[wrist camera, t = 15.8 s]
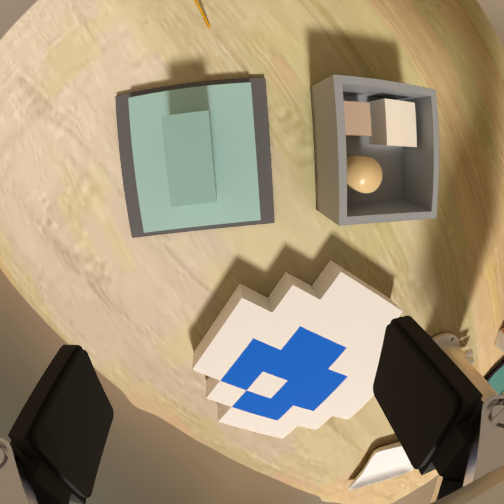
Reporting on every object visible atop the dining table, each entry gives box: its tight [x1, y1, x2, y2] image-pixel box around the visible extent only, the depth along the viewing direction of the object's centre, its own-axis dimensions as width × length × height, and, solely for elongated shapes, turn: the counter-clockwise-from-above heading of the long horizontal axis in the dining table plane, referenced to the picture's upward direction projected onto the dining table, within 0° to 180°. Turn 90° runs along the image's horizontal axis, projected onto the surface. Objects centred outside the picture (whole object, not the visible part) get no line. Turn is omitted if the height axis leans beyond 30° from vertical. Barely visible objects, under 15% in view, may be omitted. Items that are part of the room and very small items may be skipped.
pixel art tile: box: [192, 260, 403, 439], centre depth 40 cm, size 28×4×28 cm
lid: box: [128, 82, 261, 233], centre depth 27 cm, size 13×15×6 cm
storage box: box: [310, 75, 439, 226], centre depth 29 cm, size 12×14×7 cm
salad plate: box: [349, 442, 413, 490], centre depth 57 cm, size 21×21×3 cm
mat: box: [116, 78, 274, 238], centre depth 30 cm, size 16×16×1 cm
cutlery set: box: [486, 362, 504, 395], centre depth 56 cm, size 20×30×2 cm, turn 39°
